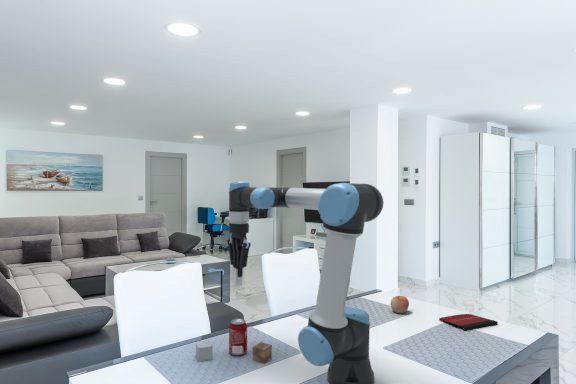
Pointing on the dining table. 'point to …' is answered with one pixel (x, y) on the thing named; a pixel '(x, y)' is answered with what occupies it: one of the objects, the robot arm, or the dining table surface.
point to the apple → (399, 304)
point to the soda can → (238, 337)
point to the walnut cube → (262, 352)
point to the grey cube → (204, 351)
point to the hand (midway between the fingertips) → (238, 284)
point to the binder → (468, 321)
